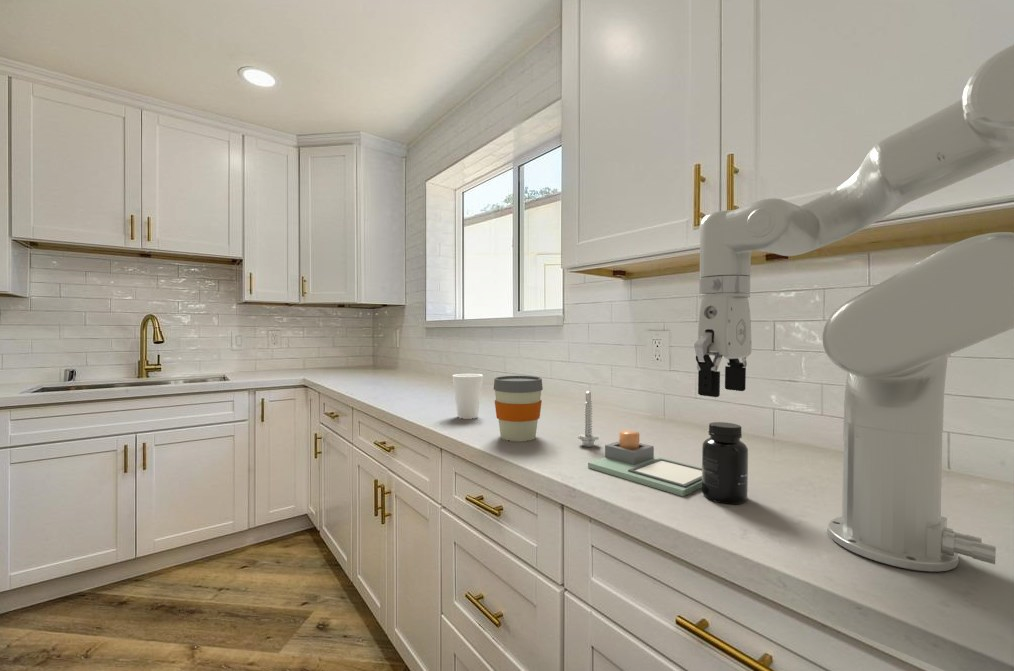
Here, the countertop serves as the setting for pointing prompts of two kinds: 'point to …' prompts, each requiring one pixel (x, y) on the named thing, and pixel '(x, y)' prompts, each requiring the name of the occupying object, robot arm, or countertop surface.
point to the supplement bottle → (725, 464)
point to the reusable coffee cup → (518, 406)
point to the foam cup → (467, 394)
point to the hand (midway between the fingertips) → (722, 392)
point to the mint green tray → (649, 469)
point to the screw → (588, 424)
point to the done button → (629, 439)
